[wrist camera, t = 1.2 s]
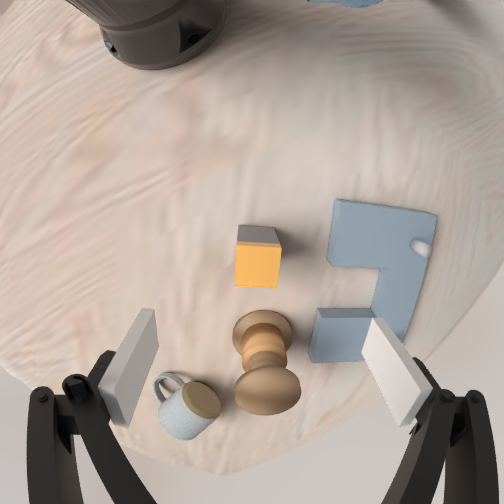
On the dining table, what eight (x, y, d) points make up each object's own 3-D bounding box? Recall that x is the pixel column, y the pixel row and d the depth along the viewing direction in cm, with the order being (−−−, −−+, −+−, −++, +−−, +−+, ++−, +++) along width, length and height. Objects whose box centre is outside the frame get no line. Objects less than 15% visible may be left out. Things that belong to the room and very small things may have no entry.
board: (334, 198, 32) (351, 206, 27) (426, 212, 33) (450, 221, 27) (308, 352, 39) (315, 377, 34) (389, 348, 39) (403, 369, 34)
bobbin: (234, 308, 36) (230, 367, 25) (295, 311, 36) (312, 368, 26) (231, 355, 39) (228, 416, 28) (286, 357, 39) (298, 417, 28)
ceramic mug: (226, 391, 41) (223, 427, 34) (200, 414, 43) (194, 447, 36) (168, 359, 39) (156, 394, 32) (147, 386, 41) (134, 418, 34)
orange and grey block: (238, 224, 33) (236, 245, 25) (273, 227, 33) (281, 247, 25) (236, 257, 34) (234, 286, 26) (270, 259, 34) (277, 288, 27)
